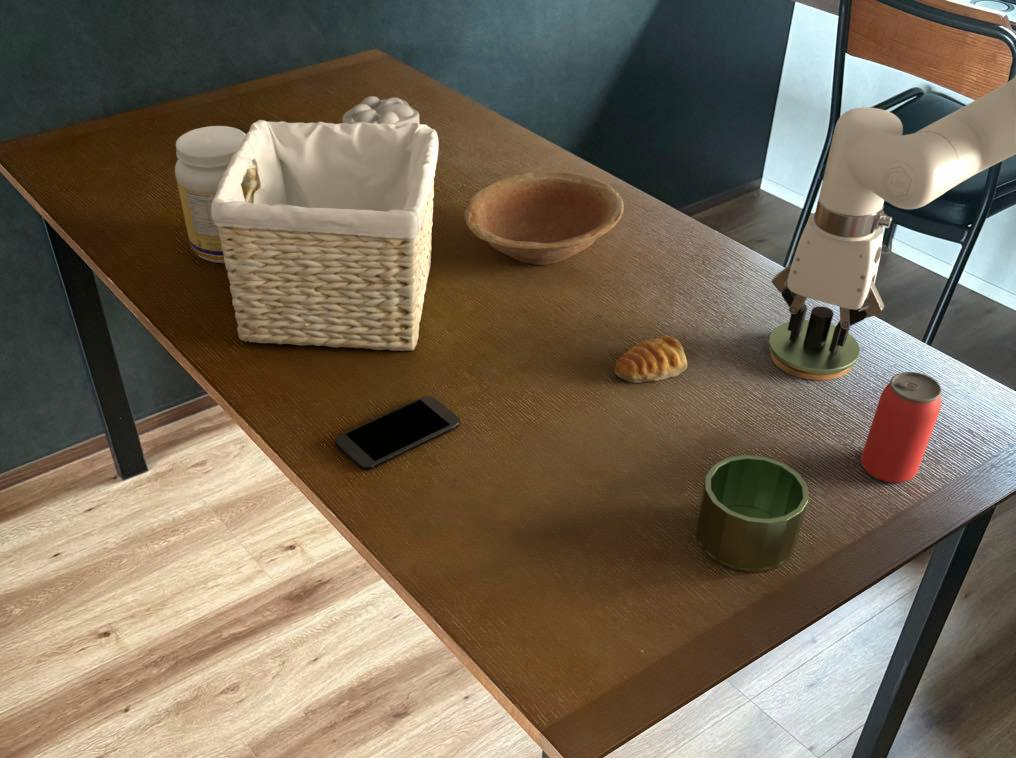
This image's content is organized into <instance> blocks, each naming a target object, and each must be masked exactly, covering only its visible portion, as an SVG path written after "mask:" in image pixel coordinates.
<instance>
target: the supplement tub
mask: <svg viewBox="0 0 1016 758" xmlns="http://www.w3.org/2000/svg"><path fill="white" fill-rule="evenodd" d="M246 134H247V133H245V132H244V131H242V130H241V129H238V128H236V127H231V126H227V125H210V126H204V127H203V126H202V127H199V128H195V129H191V130H189V131H187V132H185V133H183V134H181V135H180V136H179V137H178V138H177V140H176V141H175V149H176V150H175V151H176V152H175V153H176V155H175V156H176V158H177V160H176V163H175V165H174V176H175V180H176V183H177V184H176V185H177V190H178V194H179V198H180V204H181V209H182V212H183V213H182V214H183V217H184V222H185V228H186V232H187V237H188V242H190V243H189V245H190V244H191V246H192V247H193V248H194V249H195V250H197V251H199V252H201V253H203V254H207V255H211V256H217V257H224V254H223V250H222V247H221V246H222V242H221V240H220V237H219V230H218V226H216V225H215V224H214V221H213V219H212V216H211V204H212V201H213V199H214V197H215V195H216V193H217V189H218V185H219V183H220V181H221V179H222V176H223V174H224V172H225V171H226V169H227V167H228V166H229V163H230V160H231V158H232V156H233V155H234V154H235V153H236V152H237V150H238V148H239V146H240V145H241V143H242V141H243V139H244V137H245V135H246ZM241 186H242V191H243V195H244V198H245V197H246V195H247V191H248V190H249V188H248V183H247V182H246V178H245V176H244V178H243V181H242V183H241ZM191 246H190V247H191ZM194 254H195V255H196V256H198V258H201V259H202V260H205V261H207V262H212V263H215V264H225V262H224V260H214V259H209V258H205V257H202V256H200V255H197V254H196V253H194Z"/></svg>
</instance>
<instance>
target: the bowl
mask: <svg viewBox="0 0 1016 758" xmlns="http://www.w3.org/2000/svg"><path fill="white" fill-rule="evenodd" d="M624 209H625V204H624V201H623V199H622V197H621V194H620V193H619V192H618V191H617V190H616V189H615V188H613V187H612V186H611V185H609V184H608V183H606V182H605V181H602V180H600V179H597V178H595V177H591V176H589V175H586V174H580V173H575V172H569V171H568V172H566V171H531V172H522V173H519V174H516V175H515V174H514V175H512V176H508V177H503V178H501V179H499V180H496V181H493V182H491V183H490V184H489V183H488V184H487V185H485V186H484V187H482V188H481V189H479V190H477V192H476V193H474V195H473V196H471V198H470V199H469V201H468V203H467V205H466V206H465V209H464V213H463V216H464V221H465V224H466V225H467V227H468V229H469V230H470V231H471V232H472V233H473V234H474V235H475V236H476V237H477V238H479V239H481V240H482V241H483V242H486V243H488V245H490V247H492V248H493V249H495V250H496V251H498V252H500V253H502V254H503V255H506V256H508V257H511V258H512V259H514V260H516V261H519V262H521V263H525V264H528V265H534V266H545V265H546V266H547V265H552V264H556V263H559V262H561V261H565V260H566V259H568V258H570V257H572V256H575V255H578V254H579V253H581V252H583V251H584V250H587V249H588V248H590V247H591V246H592V245H593V244H594V242H595V241H596V240H597V239H599V238H600V237H602V236H604V235H606V234H607V233H609V232H610V231H611V230H612V229H613V228H614V227H615V226H616V225H617V224H618V222H620V220H621V219H622V216H623V214H624V211H625V210H624Z"/></svg>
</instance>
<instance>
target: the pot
mask: <svg viewBox="0 0 1016 758" xmlns="http://www.w3.org/2000/svg"><path fill="white" fill-rule="evenodd" d="M809 500H810V499H809V486H808V484H807V483H806V482H805V481H804V479H803V478H802V476H801V475H800V473H799V472H798V471H795V469H793V468H791V467H790V466H788V465H787V464H786V463H783V462H781V461H778V460H775V459H772V458H770V457H767V456H761V455H760V456H759V455H751V454H743V455H736V456H731V457H730V456H729V457H726V458H724V459H723V460H720V461H719V462H717V463H715V464H713V465H712V466H711V468H710V469H709V471H708V472H707V473H706V475H705V477H704V483H703V487H702V493H701V499H700V503H699V508H698V513H697V519H696V529H695V538H696V541H697V543H698V546H699V548H700V549H701V550H702V552H703V553H704V554H705V555H706V556H707V557H708V558H709V559H711V560H712V561H714V562H715V563H717V564H718V565H721V566H722V567H725V568H727V569H730V570H733V571H737V572H744V573H764V572H768V571H769V572H770V571H773V570H776V569H777V568H779V567H781V566H783V565H784V564H786V563H787V561H788V560H790V558H791V557H792V555H793V553H794V550H795V548H796V546H797V543H798V539H799V536H800V531H801V528H802V524H803V521H804V519H805V518H804V517H805V514H806V511H807V508H808V503H809Z"/></svg>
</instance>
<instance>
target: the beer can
mask: <svg viewBox="0 0 1016 758" xmlns="http://www.w3.org/2000/svg"><path fill="white" fill-rule="evenodd" d="M942 391H943V390H942V386H941V385H940V383H939V382H938V381H937V380H936V379H934V378H933V377H931V376H929V375H926V374H925V373H921V372H915V371H904V372H899V373H897V374H895V375H893V376H892V377H891V379H890V380H889V383H887V385H886V386H885V387H884V388H883V390H882V392H881V394H880V395H879V400H878V403H877V406H876V410H875V412H874V415H873V418H872V421H871V425H870V428H869V431H868V435H867V438H866V441H865V444H864V447H863V449H862V454H861V456H860V460H861V465H862V467H863V469H864V470H865V472H866V473H868V474H869V476H871V477H873V478H875V479H876V480H879V481H882V482H885V483H891V484H899V483H905V482H907V481H910V480H912V479H913V478H915V476H916V475H917V474H918V472H919V469H920V466H921V464H922V460H923V458H924V455H925V453H926V449H927V447H928V444H929V442H930V438H931V436H932V432H933V431H934V428H935V425H936V423H937V420H938V418H939V415H940V411H941V409H942V396H941V394H942Z"/></svg>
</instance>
